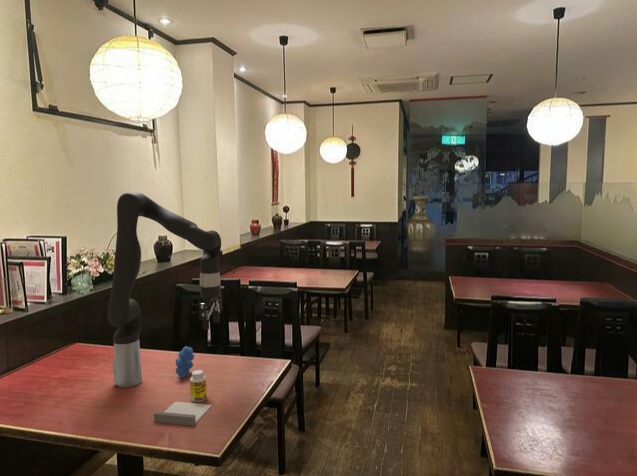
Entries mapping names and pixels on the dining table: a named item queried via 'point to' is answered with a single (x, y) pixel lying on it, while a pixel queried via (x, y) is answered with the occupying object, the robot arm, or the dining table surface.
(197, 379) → the supplement bottle
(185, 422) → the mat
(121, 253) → the robot arm
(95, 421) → the dining table surface
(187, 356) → the grapes
